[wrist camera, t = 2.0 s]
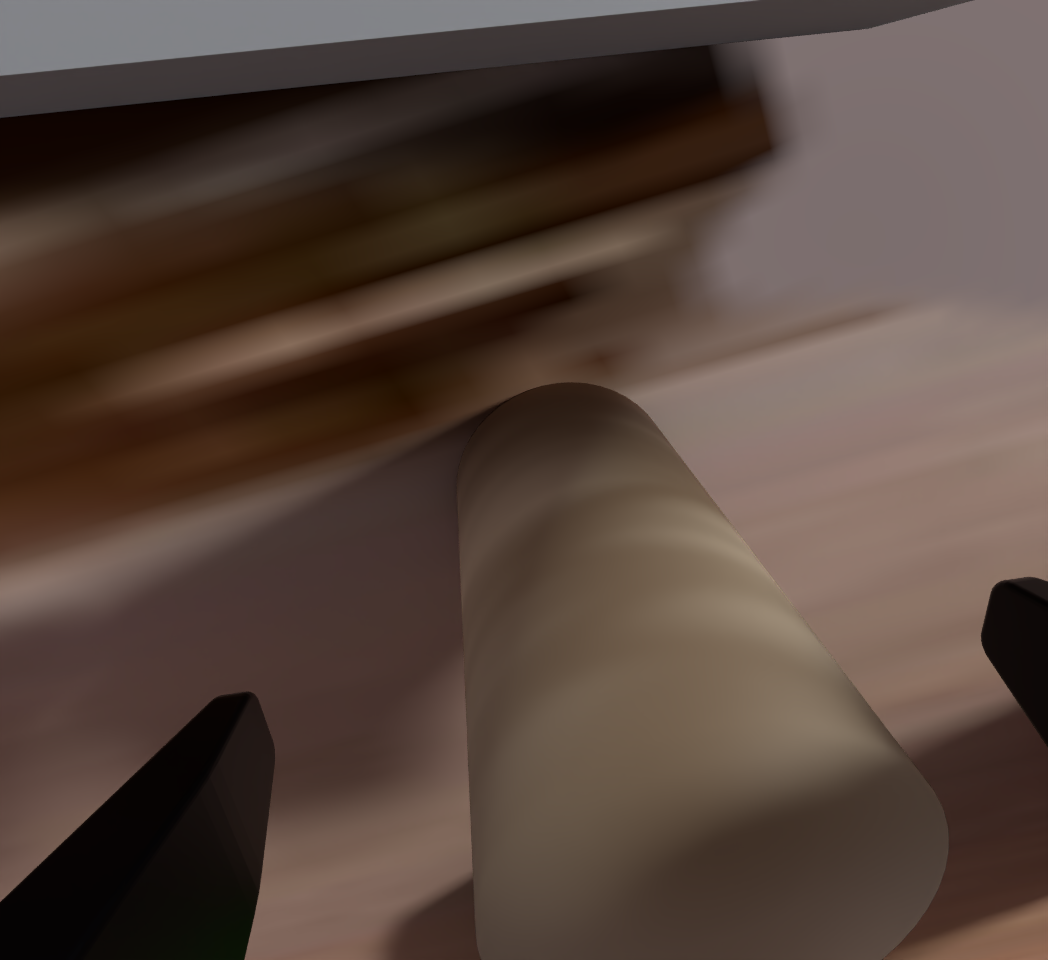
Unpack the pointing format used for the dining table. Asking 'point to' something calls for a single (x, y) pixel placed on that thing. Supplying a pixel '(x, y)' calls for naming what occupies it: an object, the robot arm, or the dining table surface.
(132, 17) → the grey square-hole tray
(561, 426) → the peg
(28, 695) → the dining table surface
